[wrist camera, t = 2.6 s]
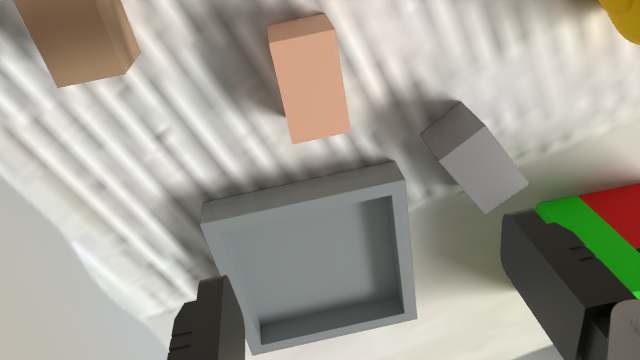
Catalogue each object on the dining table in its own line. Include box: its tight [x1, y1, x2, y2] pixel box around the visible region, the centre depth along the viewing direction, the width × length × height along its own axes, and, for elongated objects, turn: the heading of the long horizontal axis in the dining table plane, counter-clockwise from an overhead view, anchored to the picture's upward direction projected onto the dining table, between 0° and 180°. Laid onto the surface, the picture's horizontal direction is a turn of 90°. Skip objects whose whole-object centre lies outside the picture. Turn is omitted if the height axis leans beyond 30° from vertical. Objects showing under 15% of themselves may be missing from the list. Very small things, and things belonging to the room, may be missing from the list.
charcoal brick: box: [420, 102, 529, 215], centre depth 31 cm, size 6×4×4 cm, turn 42°
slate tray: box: [200, 161, 417, 355], centre depth 35 cm, size 14×14×3 cm
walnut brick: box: [14, 0, 141, 88], centre depth 24 cm, size 6×4×4 cm, turn 10°
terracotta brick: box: [267, 13, 351, 144], centre depth 27 cm, size 6×4×4 cm, turn 10°
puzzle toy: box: [536, 184, 640, 300], centre depth 35 cm, size 10×10×10 cm
